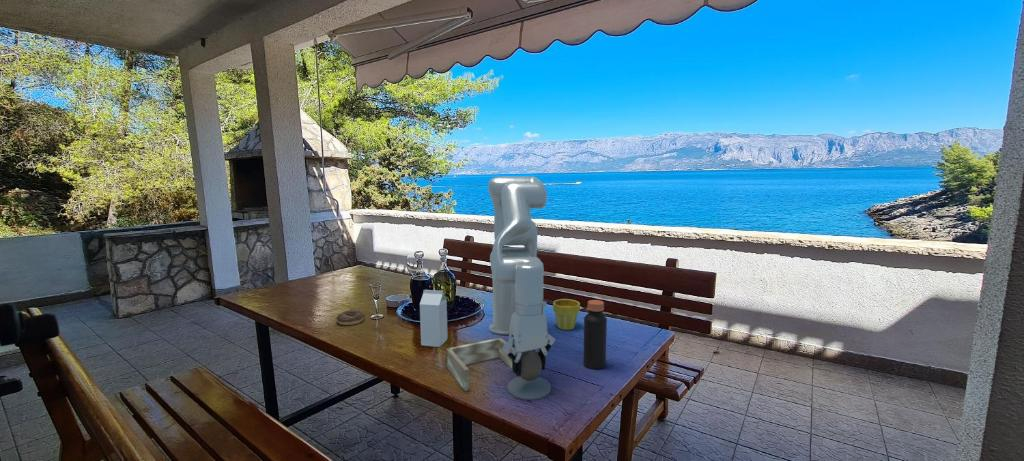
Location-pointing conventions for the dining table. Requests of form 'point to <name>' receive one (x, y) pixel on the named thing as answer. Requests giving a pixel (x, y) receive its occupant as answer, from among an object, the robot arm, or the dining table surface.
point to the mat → (529, 388)
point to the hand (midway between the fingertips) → (529, 370)
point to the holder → (474, 357)
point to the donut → (350, 317)
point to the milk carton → (433, 318)
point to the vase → (530, 365)
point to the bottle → (595, 335)
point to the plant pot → (566, 313)
